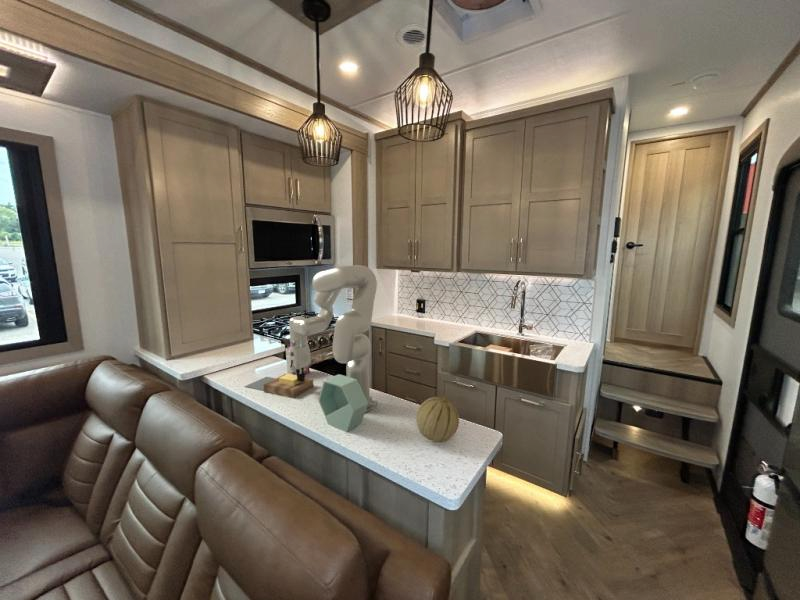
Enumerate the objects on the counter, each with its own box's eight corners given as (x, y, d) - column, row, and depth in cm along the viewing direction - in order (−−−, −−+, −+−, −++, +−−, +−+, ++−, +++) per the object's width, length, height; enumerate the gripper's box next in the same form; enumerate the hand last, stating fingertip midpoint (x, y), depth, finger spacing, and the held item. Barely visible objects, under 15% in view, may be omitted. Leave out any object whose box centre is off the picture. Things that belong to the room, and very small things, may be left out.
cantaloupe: (407, 438, 115) (407, 398, 113) (434, 423, 125) (434, 385, 123) (441, 456, 104) (441, 412, 102) (467, 438, 114) (467, 397, 112)
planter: (333, 437, 124) (312, 387, 128) (348, 428, 130) (327, 381, 134) (360, 426, 114) (335, 372, 119) (374, 417, 120) (351, 366, 125)
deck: (313, 386, 161) (313, 379, 160) (293, 398, 148) (293, 390, 148) (285, 381, 168) (284, 374, 167) (264, 392, 155) (263, 384, 155)
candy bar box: (304, 371, 183) (302, 342, 181) (310, 373, 180) (308, 344, 178) (286, 377, 174) (285, 347, 172) (292, 379, 171) (290, 349, 169)
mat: (286, 380, 169) (286, 380, 169) (265, 391, 156) (265, 390, 156) (266, 377, 175) (266, 376, 175) (244, 386, 162) (244, 386, 162)
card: (302, 381, 158) (302, 376, 157) (293, 385, 152) (293, 380, 152) (288, 378, 161) (287, 373, 161) (279, 382, 156) (278, 377, 156)
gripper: (294, 348, 143) (296, 388, 146) (315, 340, 157) (317, 376, 160) (281, 346, 146) (283, 385, 149) (303, 338, 160) (305, 374, 163)
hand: (300, 380), depth 154 cm, fingers closed
